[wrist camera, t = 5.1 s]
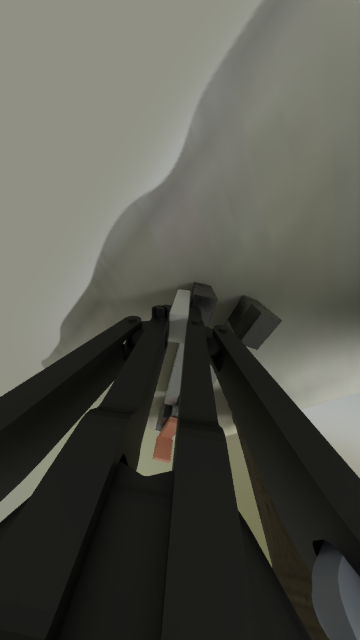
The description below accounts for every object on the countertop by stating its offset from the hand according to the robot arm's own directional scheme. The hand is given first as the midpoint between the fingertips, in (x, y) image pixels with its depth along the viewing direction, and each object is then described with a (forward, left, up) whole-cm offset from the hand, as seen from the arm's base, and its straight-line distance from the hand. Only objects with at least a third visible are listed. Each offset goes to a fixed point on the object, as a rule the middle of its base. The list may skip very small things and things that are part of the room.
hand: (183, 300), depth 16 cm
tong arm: (+4, +9, -2) cm, 10 cm away
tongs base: (+5, +14, -2) cm, 15 cm away
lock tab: (+14, +23, +2) cm, 27 cm away
